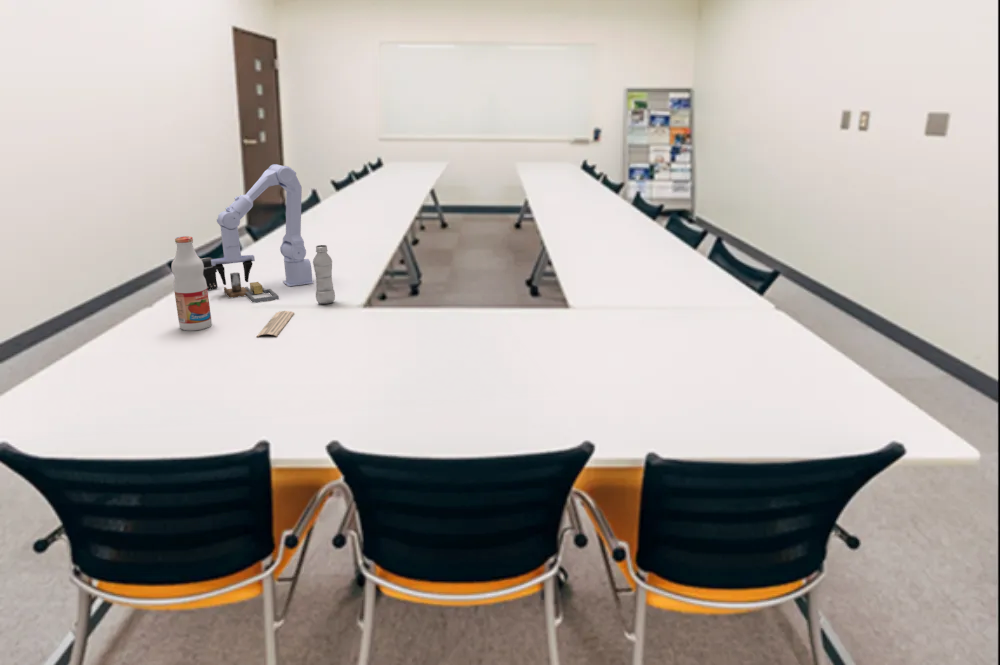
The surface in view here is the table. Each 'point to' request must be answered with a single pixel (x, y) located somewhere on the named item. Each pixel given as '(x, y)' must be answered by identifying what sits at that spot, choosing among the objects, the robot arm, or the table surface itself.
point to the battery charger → (209, 273)
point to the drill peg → (235, 282)
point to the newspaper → (277, 323)
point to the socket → (274, 296)
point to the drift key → (256, 287)
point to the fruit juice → (190, 287)
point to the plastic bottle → (323, 276)
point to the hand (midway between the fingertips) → (235, 282)
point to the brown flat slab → (235, 294)
